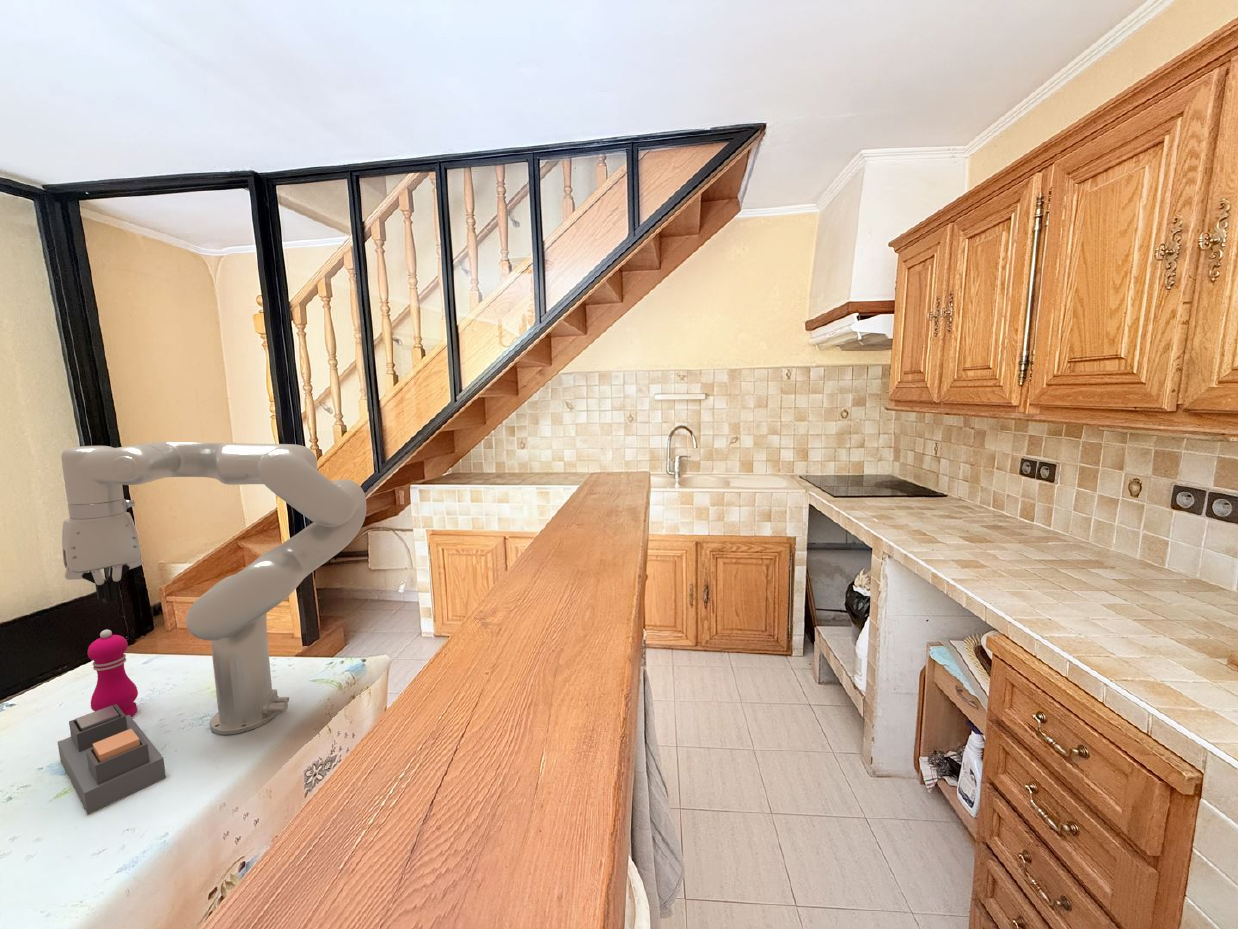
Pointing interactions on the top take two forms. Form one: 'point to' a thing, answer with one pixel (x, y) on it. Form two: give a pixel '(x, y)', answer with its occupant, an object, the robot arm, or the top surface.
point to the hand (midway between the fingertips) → (109, 600)
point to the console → (109, 763)
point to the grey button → (96, 718)
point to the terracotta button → (115, 745)
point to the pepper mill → (112, 674)
